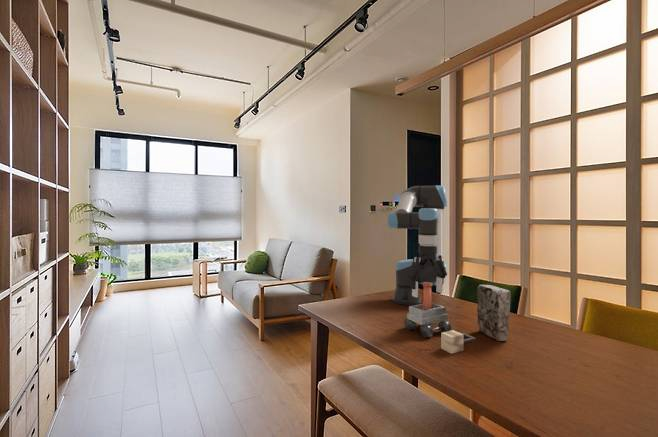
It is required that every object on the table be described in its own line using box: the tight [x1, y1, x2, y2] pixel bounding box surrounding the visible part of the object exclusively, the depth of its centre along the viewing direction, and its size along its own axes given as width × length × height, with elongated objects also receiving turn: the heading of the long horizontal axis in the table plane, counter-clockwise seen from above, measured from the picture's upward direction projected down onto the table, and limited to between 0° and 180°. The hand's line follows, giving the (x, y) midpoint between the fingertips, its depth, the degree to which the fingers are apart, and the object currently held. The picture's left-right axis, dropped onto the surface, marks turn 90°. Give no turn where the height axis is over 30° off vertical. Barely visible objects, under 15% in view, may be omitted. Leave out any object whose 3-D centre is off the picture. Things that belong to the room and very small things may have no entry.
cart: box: [403, 302, 452, 339], centre depth 144 cm, size 14×15×10 cm
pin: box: [422, 282, 433, 310], centre depth 144 cm, size 4×4×13 cm
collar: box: [460, 332, 477, 344], centre depth 135 cm, size 6×6×1 cm
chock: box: [440, 329, 465, 354], centre depth 125 cm, size 6×5×6 cm
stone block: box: [476, 284, 512, 342], centre depth 138 cm, size 13×7×20 cm, turn 19°
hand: (427, 294), depth 144 cm, fingers open, 13 cm apart
